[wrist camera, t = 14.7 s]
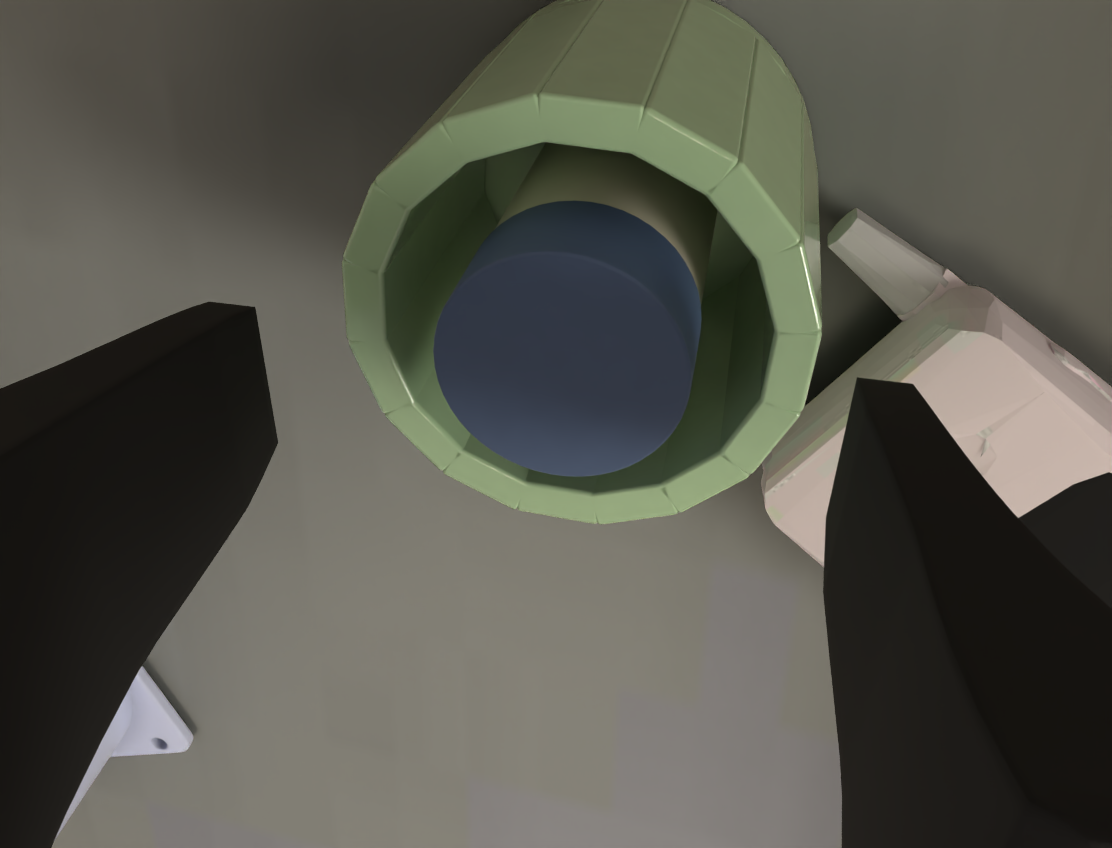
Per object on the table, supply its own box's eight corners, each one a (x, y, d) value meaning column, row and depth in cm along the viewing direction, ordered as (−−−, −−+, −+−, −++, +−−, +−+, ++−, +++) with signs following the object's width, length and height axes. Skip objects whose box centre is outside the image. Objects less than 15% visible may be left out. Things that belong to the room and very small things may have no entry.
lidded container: (572, 279, 20) (485, 493, 14) (513, 113, 18) (392, 283, 13) (744, 241, 18) (719, 457, 13) (697, 60, 17) (649, 224, 12)
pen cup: (529, 350, 21) (446, 547, 16) (409, 44, 18) (262, 173, 13) (844, 287, 19) (859, 491, 14) (771, -72, 16) (755, 28, 11)
